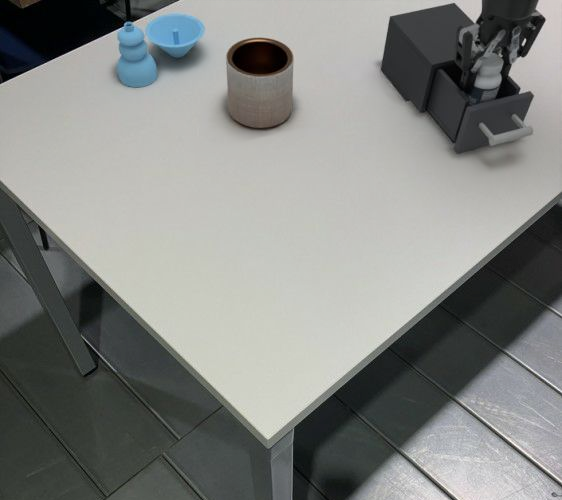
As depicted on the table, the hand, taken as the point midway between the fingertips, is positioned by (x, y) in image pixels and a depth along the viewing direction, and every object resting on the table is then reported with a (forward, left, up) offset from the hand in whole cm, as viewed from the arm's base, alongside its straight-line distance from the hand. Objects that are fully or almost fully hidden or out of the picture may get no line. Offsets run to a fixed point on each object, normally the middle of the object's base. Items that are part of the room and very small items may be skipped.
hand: (481, 86), depth 98 cm
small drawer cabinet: (0, -13, -8) cm, 15 cm away
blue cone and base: (+43, -36, -8) cm, 56 cm away
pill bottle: (0, 0, -5) cm, 5 cm away
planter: (+31, -17, -8) cm, 36 cm away
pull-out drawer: (0, +1, -7) cm, 7 cm away
